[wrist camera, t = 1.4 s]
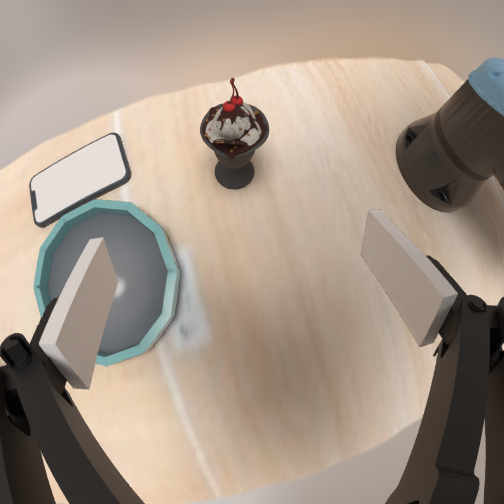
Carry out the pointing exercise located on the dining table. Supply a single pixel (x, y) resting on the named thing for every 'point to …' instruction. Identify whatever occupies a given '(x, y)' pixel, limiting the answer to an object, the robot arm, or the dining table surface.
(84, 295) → the robot arm
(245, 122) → the sundae
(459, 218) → the dining table surface
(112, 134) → the smartphone
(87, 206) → the round tray
